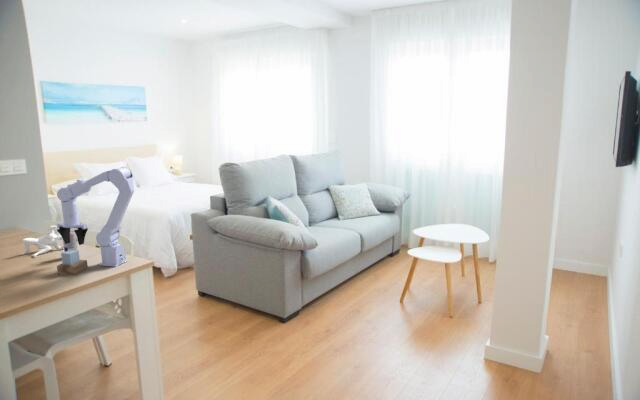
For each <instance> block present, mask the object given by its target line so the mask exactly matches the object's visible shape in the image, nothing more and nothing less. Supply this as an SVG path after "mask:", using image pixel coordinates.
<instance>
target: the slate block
mask: <svg viewBox="0 0 640 400" xmlns="http://www.w3.org/2000/svg"><path fill="white" fill-rule="evenodd" d="M60 255H61V260H62V261H61V262H62V263H63V265H73V264H75V263H78V262H80V260H81V259H80V252H79V250H68V251H66V252H65V251H63V252H61V253H60ZM62 263H61V264H62Z"/></svg>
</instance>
